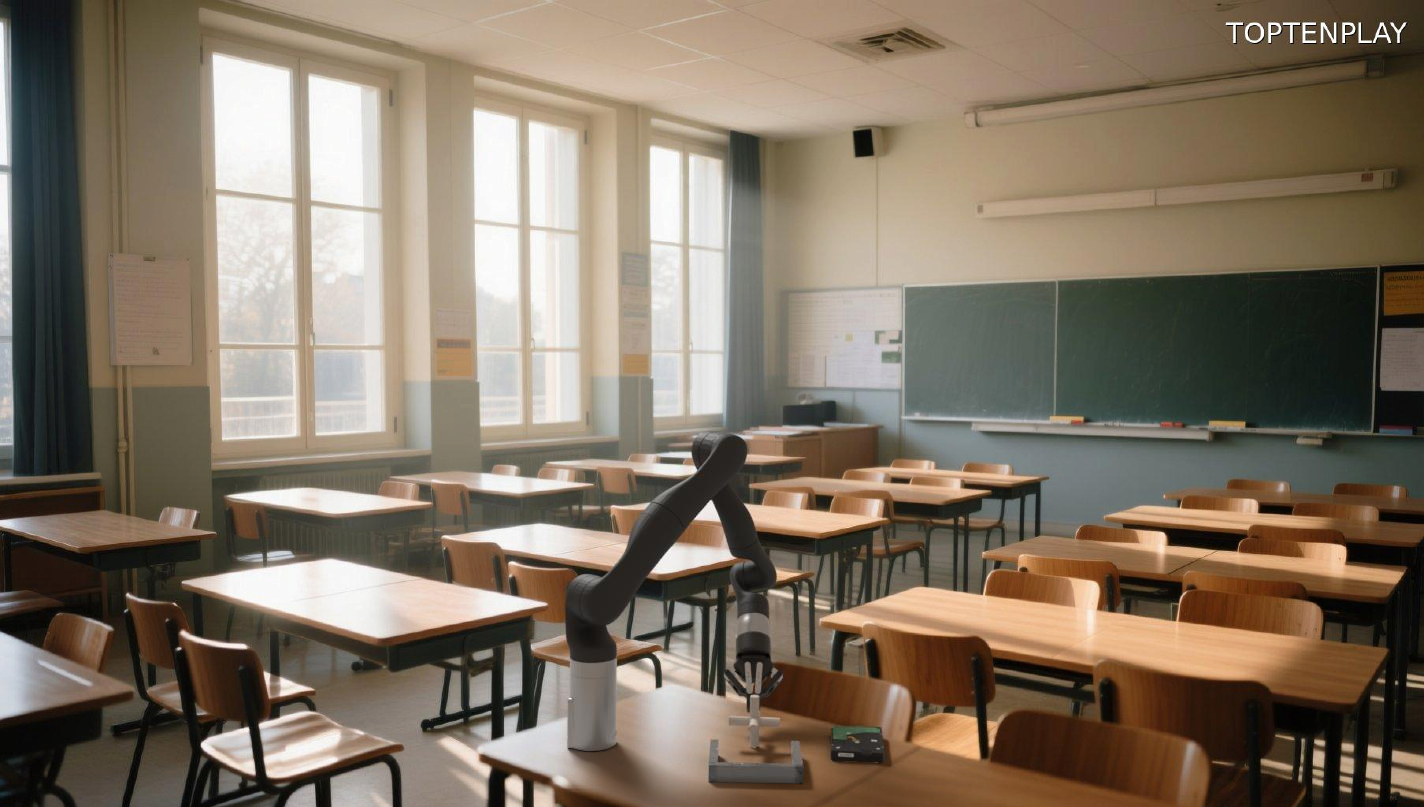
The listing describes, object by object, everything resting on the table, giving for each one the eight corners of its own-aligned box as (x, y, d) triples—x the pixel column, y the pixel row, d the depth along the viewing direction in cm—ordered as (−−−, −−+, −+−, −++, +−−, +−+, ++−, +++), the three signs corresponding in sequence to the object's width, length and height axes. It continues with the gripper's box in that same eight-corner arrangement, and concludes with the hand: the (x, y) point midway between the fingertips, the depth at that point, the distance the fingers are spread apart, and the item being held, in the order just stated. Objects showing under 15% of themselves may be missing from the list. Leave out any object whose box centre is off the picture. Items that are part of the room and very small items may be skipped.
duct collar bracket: (708, 781, 181) (708, 765, 181) (710, 755, 195) (710, 739, 195) (803, 783, 181) (803, 767, 181) (798, 756, 194) (799, 741, 194)
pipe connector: (780, 739, 204) (780, 689, 204) (778, 757, 194) (779, 705, 194) (731, 737, 205) (731, 688, 205) (726, 754, 195) (727, 703, 195)
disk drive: (885, 767, 191) (881, 739, 206) (885, 752, 191) (881, 725, 206) (830, 764, 192) (830, 737, 207) (830, 750, 192) (830, 723, 207)
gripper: (722, 629, 216) (721, 704, 204) (784, 630, 216) (786, 705, 204) (722, 648, 222) (721, 722, 209) (783, 649, 221) (785, 723, 209)
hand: (753, 713), depth 207 cm, fingers closed
